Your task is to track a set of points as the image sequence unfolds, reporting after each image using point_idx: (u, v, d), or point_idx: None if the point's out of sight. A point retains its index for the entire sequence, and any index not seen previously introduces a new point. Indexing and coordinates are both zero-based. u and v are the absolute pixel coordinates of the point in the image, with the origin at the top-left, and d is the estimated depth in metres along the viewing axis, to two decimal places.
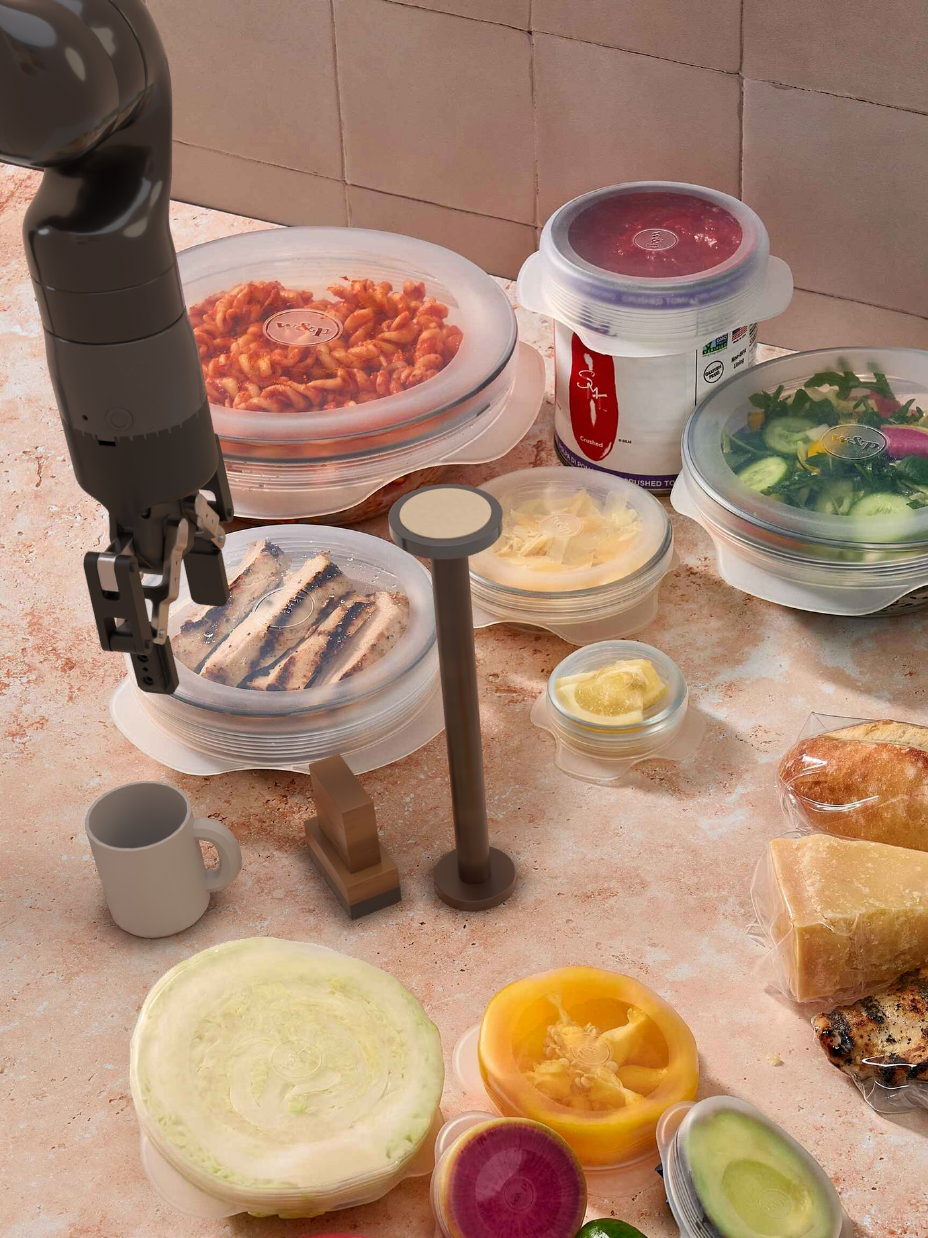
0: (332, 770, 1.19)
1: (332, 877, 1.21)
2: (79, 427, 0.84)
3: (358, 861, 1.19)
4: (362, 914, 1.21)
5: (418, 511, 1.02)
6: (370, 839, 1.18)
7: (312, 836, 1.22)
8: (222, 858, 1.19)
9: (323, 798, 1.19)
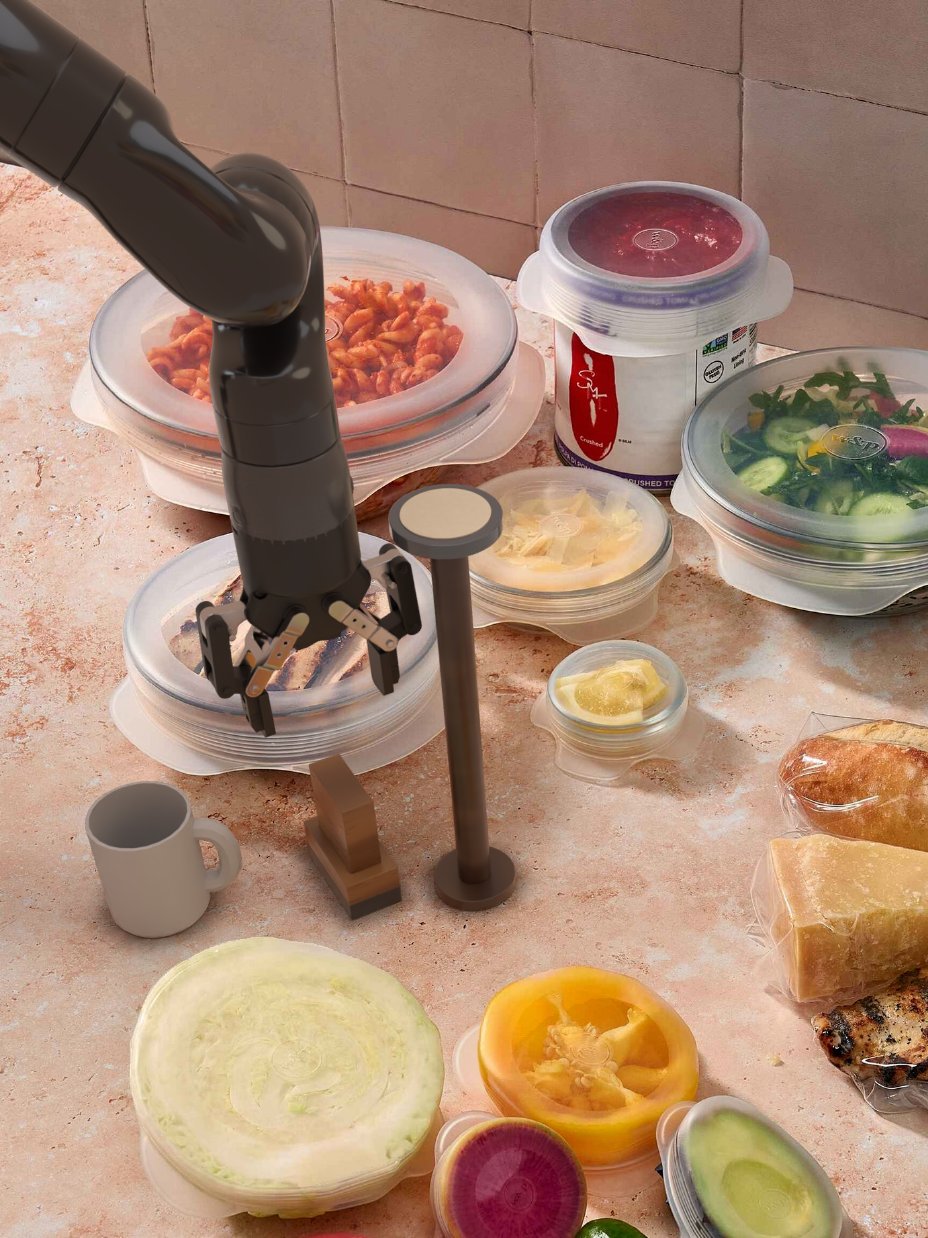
0: (332, 770, 1.19)
1: (332, 877, 1.21)
2: None
3: (358, 861, 1.19)
4: (362, 914, 1.21)
5: (418, 511, 1.02)
6: (370, 839, 1.18)
7: (312, 836, 1.22)
8: (222, 858, 1.19)
9: (323, 798, 1.19)
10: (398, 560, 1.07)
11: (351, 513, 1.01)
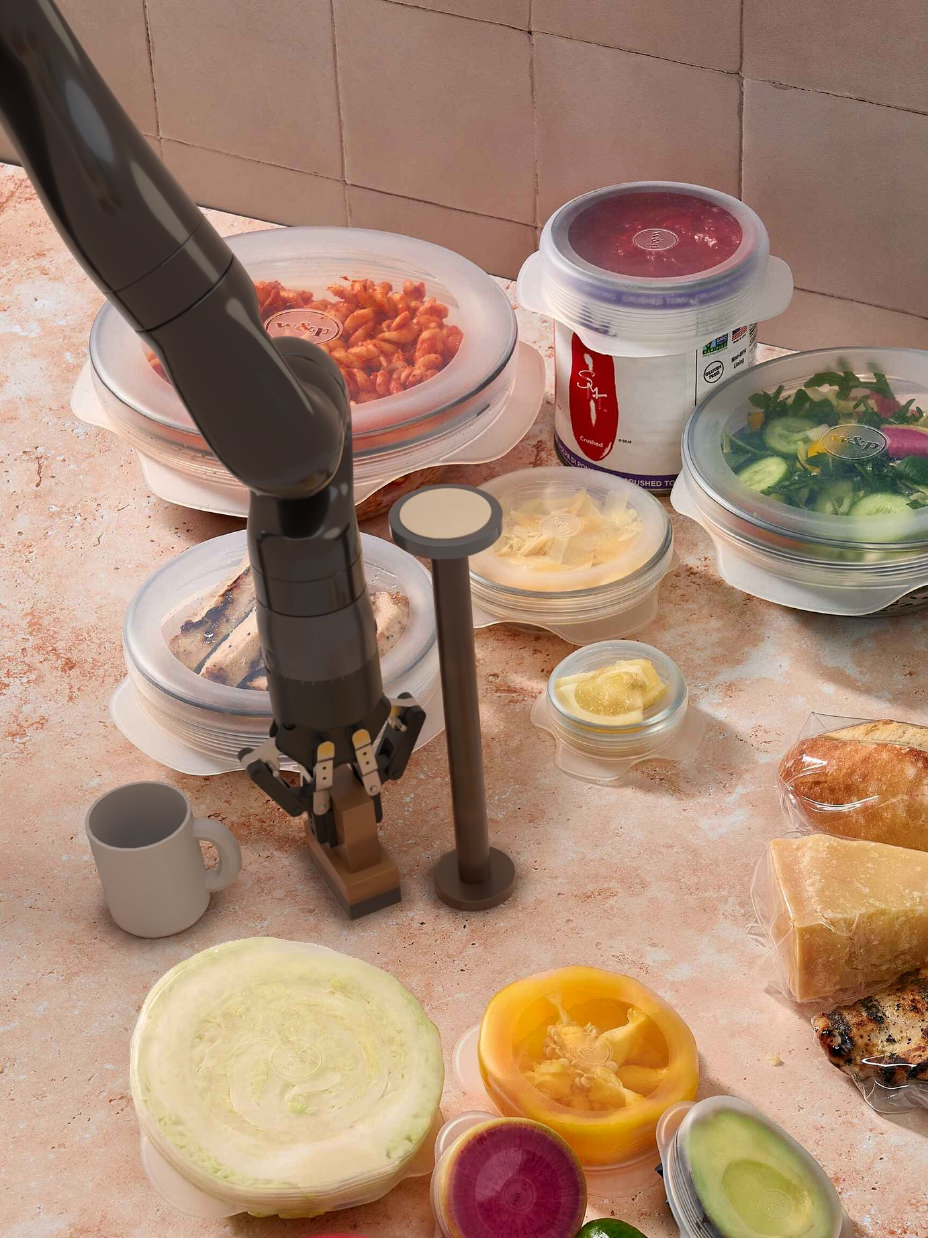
0: (333, 770, 1.18)
1: (332, 877, 1.21)
2: None
3: (358, 861, 1.19)
4: (362, 914, 1.21)
5: (418, 511, 1.02)
6: (370, 839, 1.18)
7: (312, 836, 1.22)
8: (222, 858, 1.19)
9: None
10: (418, 708, 1.16)
11: (375, 653, 1.09)
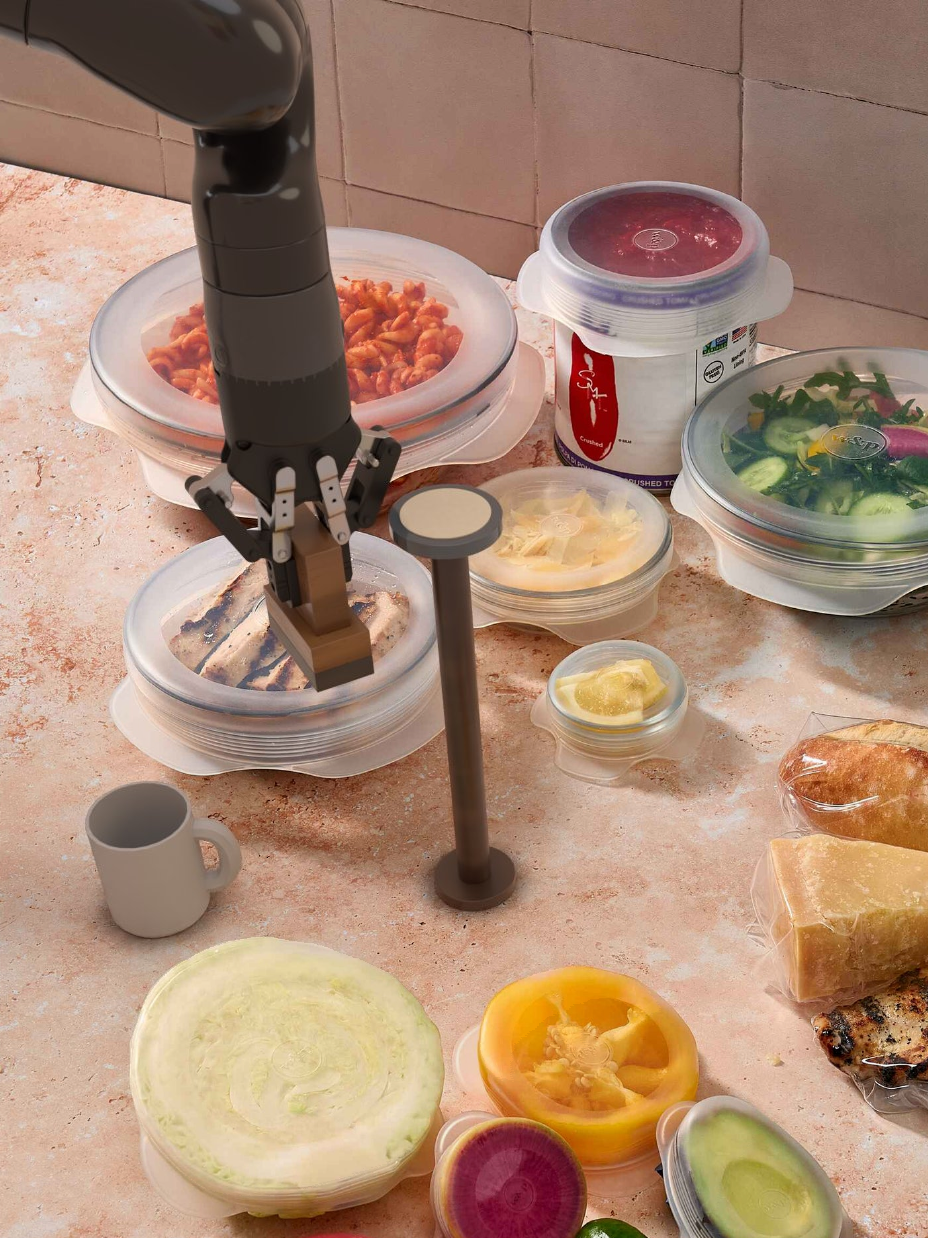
0: (295, 517, 1.04)
1: (295, 644, 1.07)
2: None
3: (324, 621, 1.05)
4: (329, 686, 1.07)
5: (418, 511, 1.02)
6: (338, 595, 1.04)
7: (273, 600, 1.08)
8: (222, 858, 1.19)
9: None
10: (392, 440, 1.02)
11: (341, 357, 0.95)
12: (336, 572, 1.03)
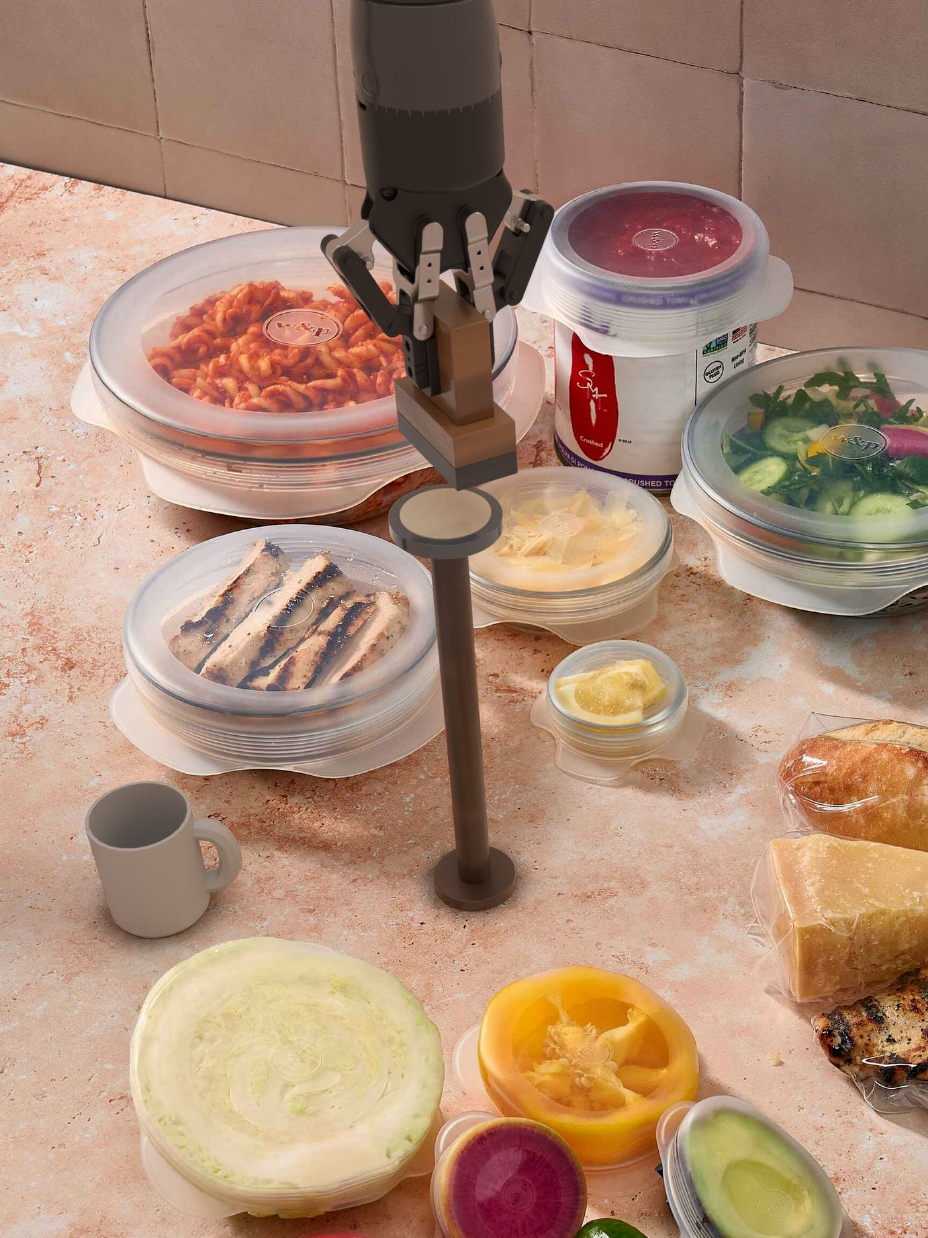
0: None
1: (432, 440, 0.97)
2: (354, 83, 0.85)
3: (467, 408, 0.95)
4: (470, 484, 0.97)
5: (418, 511, 1.02)
6: (482, 378, 0.94)
7: (406, 394, 0.99)
8: (222, 858, 1.19)
9: None
10: (544, 202, 0.92)
11: (499, 90, 0.85)
12: (482, 350, 0.93)
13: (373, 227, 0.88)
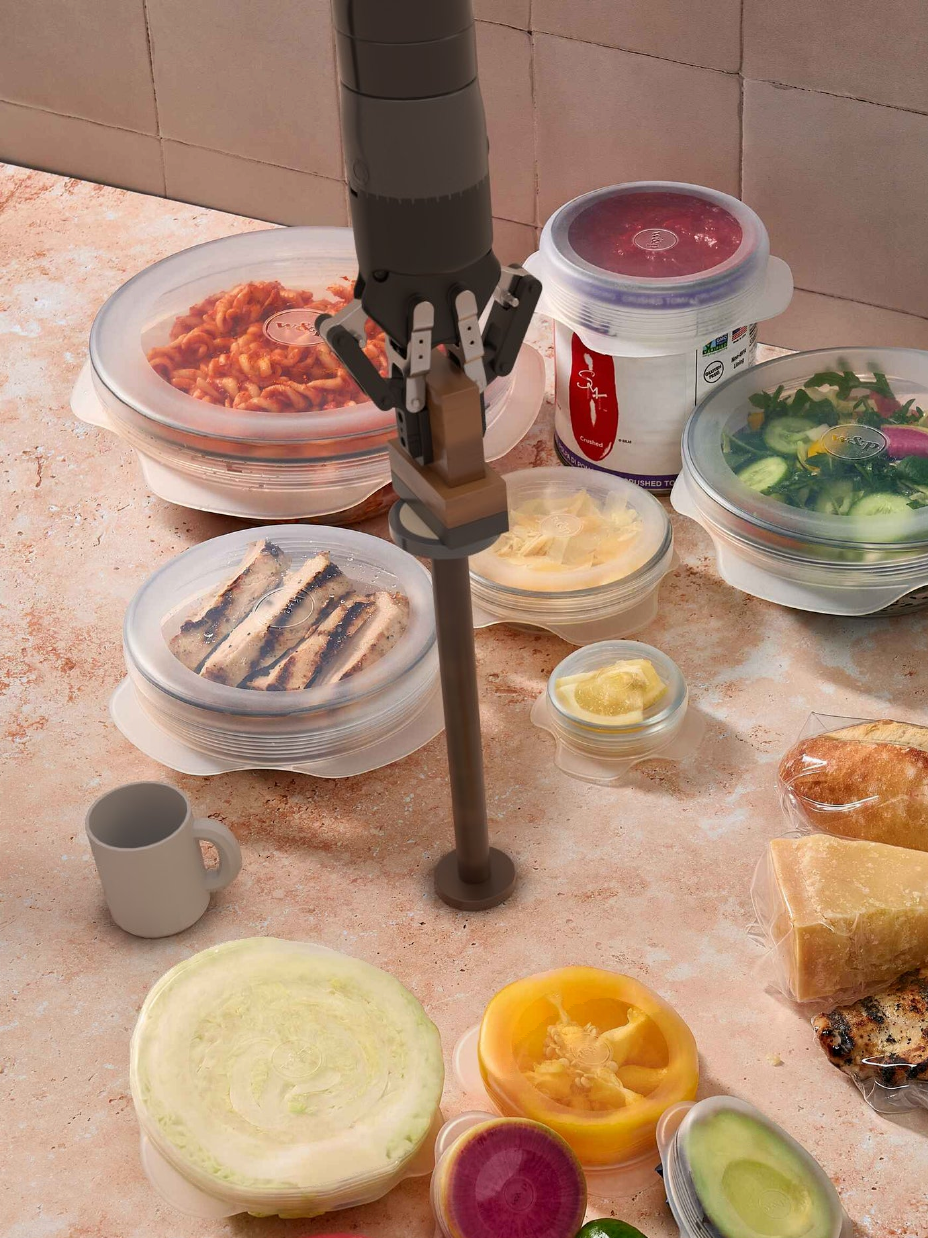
0: None
1: (425, 500, 1.00)
2: None
3: (458, 471, 0.97)
4: (462, 543, 0.99)
5: None
6: (474, 441, 0.96)
7: (399, 454, 1.01)
8: (222, 858, 1.19)
9: None
10: (533, 277, 0.95)
11: (487, 175, 0.88)
12: (473, 415, 0.95)
13: (365, 307, 0.90)
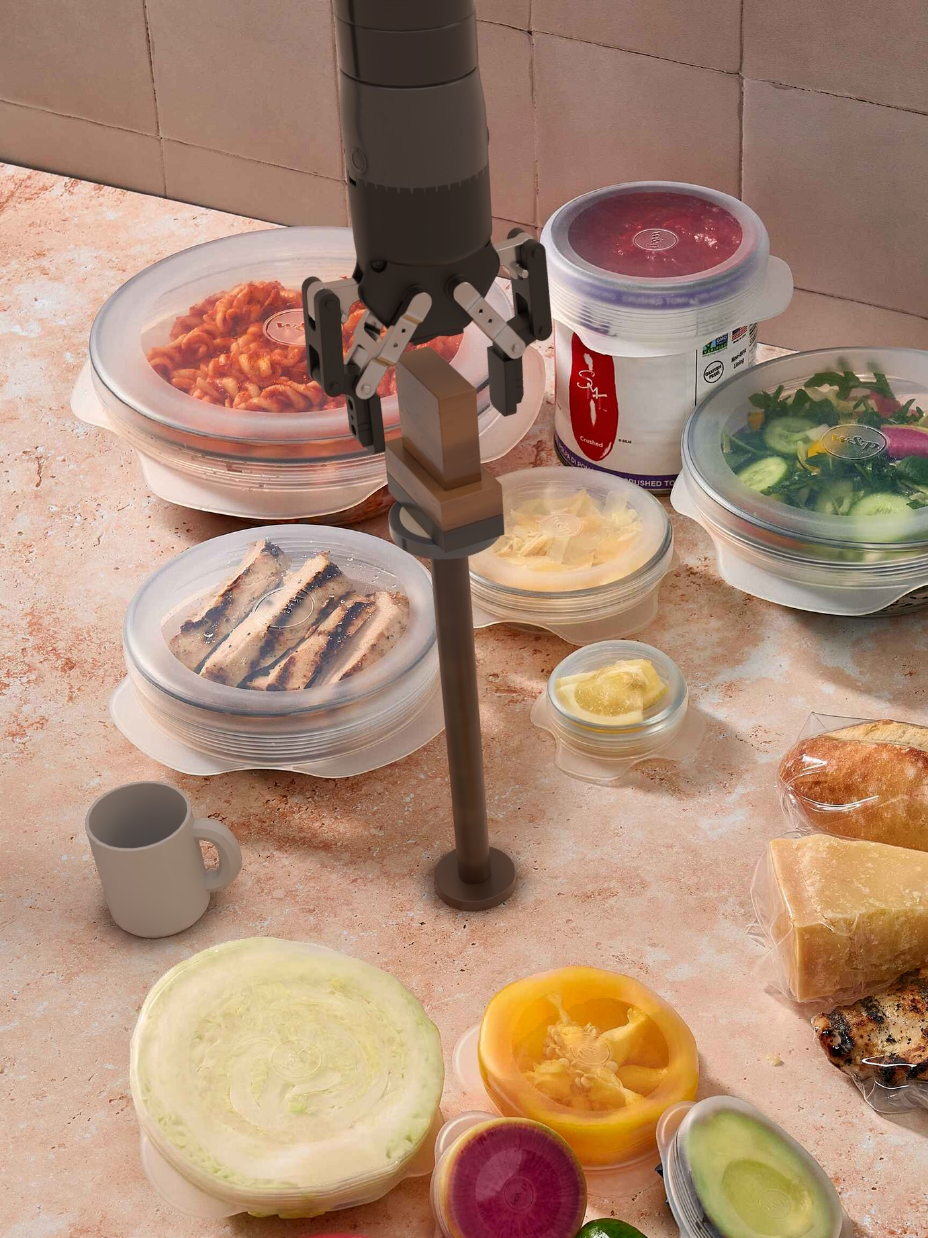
0: (424, 360, 0.97)
1: (420, 502, 0.99)
2: None
3: (454, 473, 0.97)
4: (457, 546, 0.99)
5: None
6: (470, 444, 0.96)
7: (395, 456, 1.00)
8: (222, 858, 1.19)
9: (412, 395, 0.97)
10: (531, 242, 0.93)
11: (487, 166, 0.87)
12: (469, 418, 0.95)
13: (363, 297, 0.90)
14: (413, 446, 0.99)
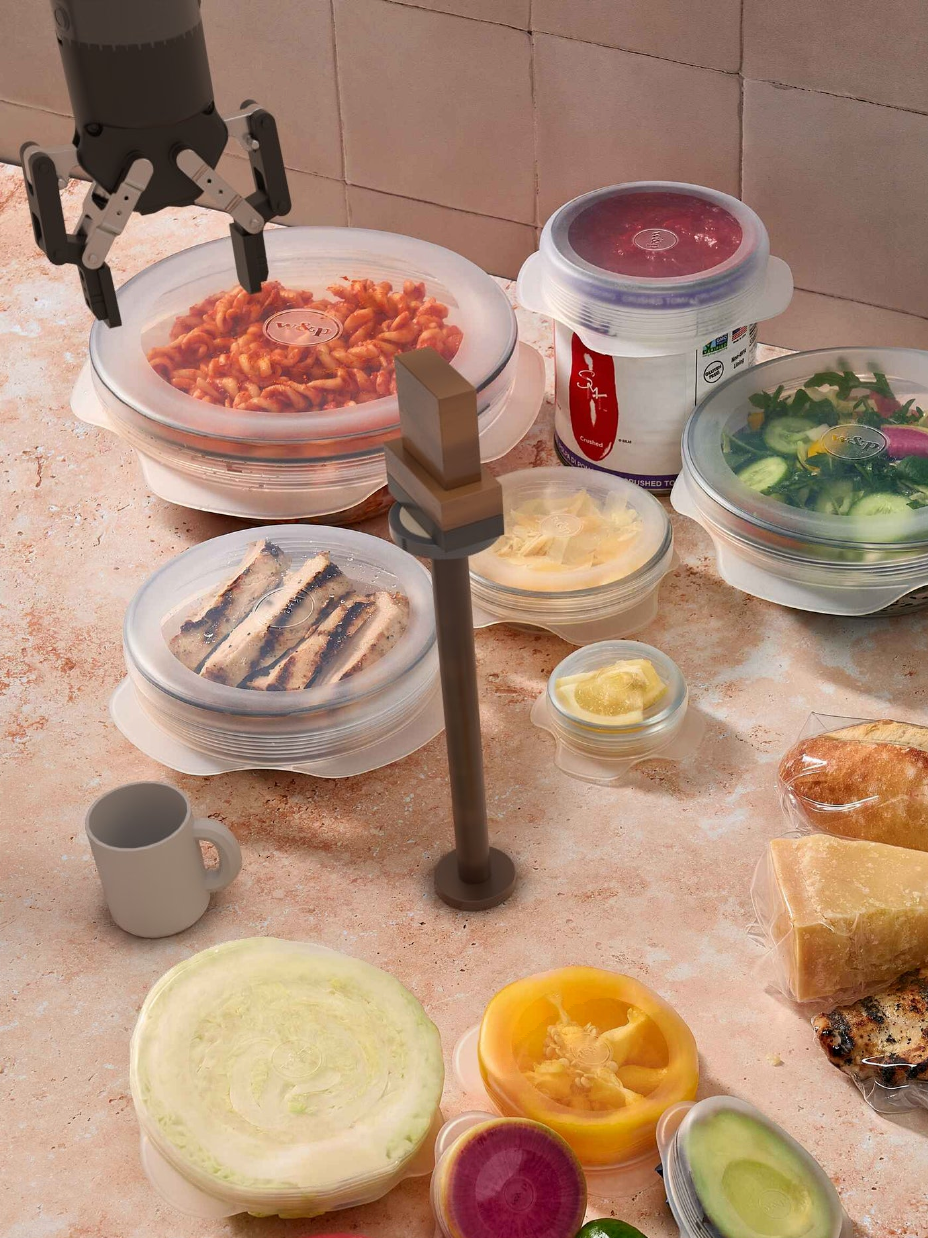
0: (424, 360, 0.97)
1: (420, 502, 0.99)
2: None
3: (454, 473, 0.97)
4: (457, 546, 0.99)
5: None
6: (470, 444, 0.96)
7: (395, 456, 1.00)
8: (222, 858, 1.19)
9: (412, 395, 0.97)
10: (260, 112, 0.93)
11: (197, 27, 0.87)
12: (469, 418, 0.95)
13: (81, 163, 0.90)
14: (413, 446, 0.99)
